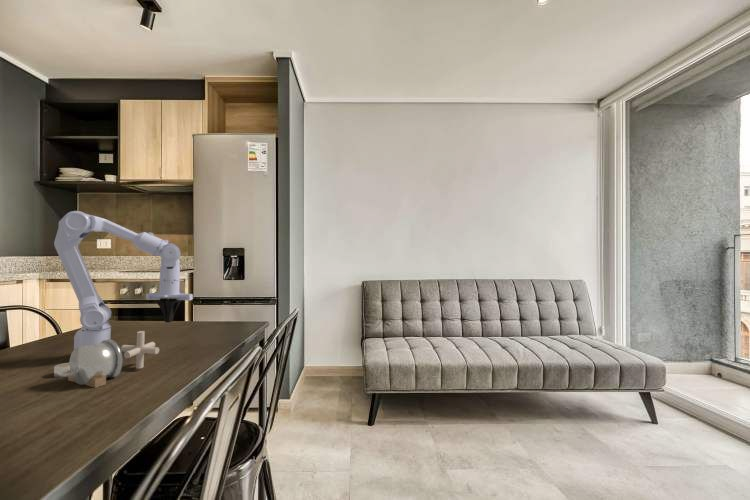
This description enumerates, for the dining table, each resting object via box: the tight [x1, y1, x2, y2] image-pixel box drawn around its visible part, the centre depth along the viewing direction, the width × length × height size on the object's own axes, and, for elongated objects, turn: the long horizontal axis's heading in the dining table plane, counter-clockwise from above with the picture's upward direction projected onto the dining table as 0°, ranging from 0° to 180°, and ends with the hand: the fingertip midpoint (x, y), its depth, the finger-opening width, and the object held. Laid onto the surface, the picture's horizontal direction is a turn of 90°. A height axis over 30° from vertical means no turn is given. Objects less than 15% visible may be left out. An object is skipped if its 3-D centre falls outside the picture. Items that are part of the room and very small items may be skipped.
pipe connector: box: [120, 330, 160, 369], centre depth 102 cm, size 10×10×10 cm
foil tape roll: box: [53, 362, 70, 378], centre depth 96 cm, size 5×5×2 cm
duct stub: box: [67, 339, 124, 388], centre depth 92 cm, size 11×7×10 cm, turn 67°
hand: (168, 321), depth 120 cm, fingers closed
